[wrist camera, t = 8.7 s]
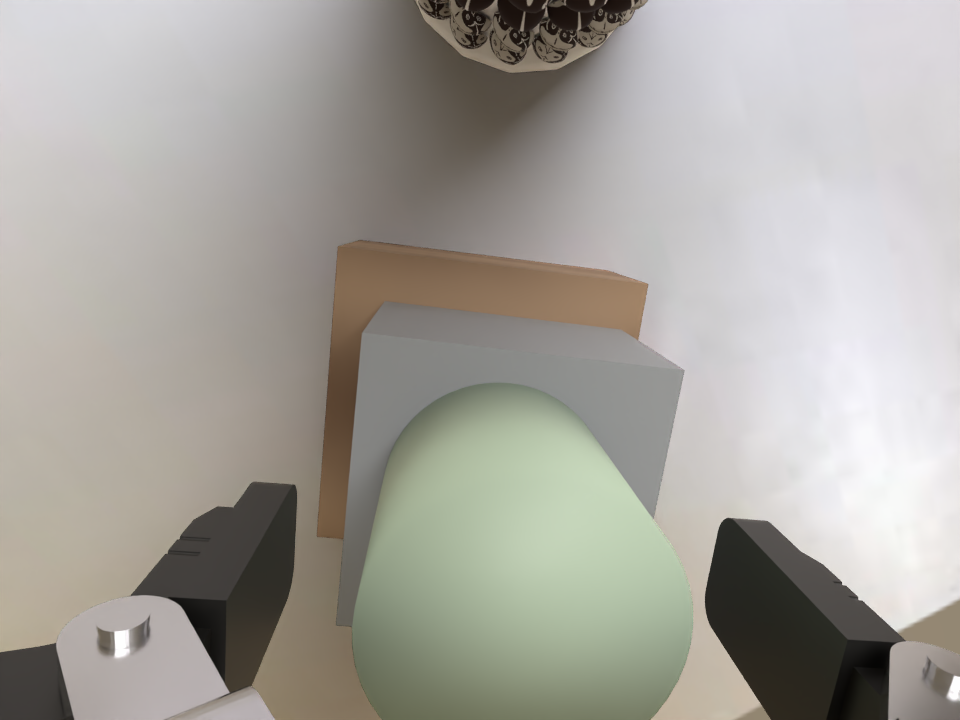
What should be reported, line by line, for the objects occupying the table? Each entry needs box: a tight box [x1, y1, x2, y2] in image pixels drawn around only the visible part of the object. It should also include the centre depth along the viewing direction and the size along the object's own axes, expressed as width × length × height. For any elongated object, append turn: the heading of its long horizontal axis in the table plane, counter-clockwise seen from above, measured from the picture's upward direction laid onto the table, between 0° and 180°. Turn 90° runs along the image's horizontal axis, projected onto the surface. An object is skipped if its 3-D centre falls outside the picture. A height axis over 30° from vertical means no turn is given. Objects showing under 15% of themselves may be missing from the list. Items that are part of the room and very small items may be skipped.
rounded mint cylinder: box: [352, 383, 693, 720], centre depth 11 cm, size 5×5×5 cm
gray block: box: [336, 301, 684, 627], centre depth 16 cm, size 7×7×5 cm
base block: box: [317, 240, 648, 539], centre depth 21 cm, size 9×9×5 cm
